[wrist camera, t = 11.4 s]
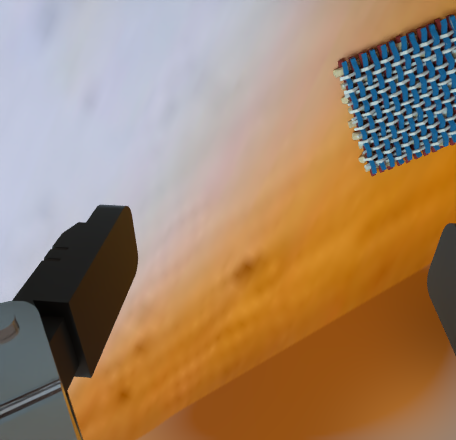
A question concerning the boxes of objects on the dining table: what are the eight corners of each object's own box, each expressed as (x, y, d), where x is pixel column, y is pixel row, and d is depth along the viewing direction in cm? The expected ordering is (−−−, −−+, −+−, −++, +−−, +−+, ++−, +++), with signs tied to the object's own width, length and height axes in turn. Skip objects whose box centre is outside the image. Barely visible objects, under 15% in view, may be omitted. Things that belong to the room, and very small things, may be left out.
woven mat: (361, 177, 38) (368, 183, 36) (327, 64, 34) (334, 64, 32) (473, 133, 37) (487, 137, 35) (451, 11, 33) (465, 8, 31)
